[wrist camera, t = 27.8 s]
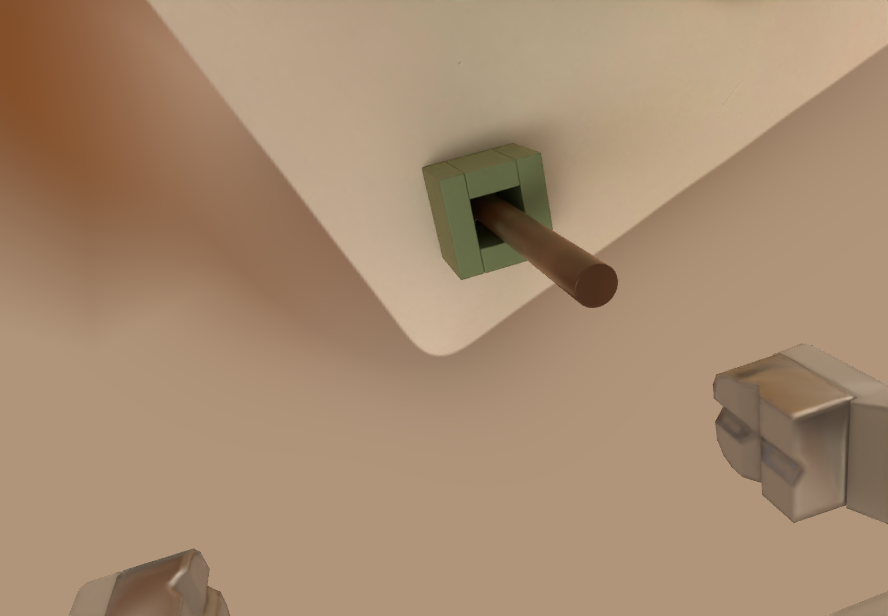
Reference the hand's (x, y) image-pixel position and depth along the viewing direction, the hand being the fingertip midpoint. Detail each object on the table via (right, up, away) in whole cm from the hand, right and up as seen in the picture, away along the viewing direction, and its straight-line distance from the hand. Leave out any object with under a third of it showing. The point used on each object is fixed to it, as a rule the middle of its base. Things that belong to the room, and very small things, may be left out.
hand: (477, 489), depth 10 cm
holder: (+2, +10, +34) cm, 36 cm away
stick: (+2, +10, +34) cm, 36 cm away
